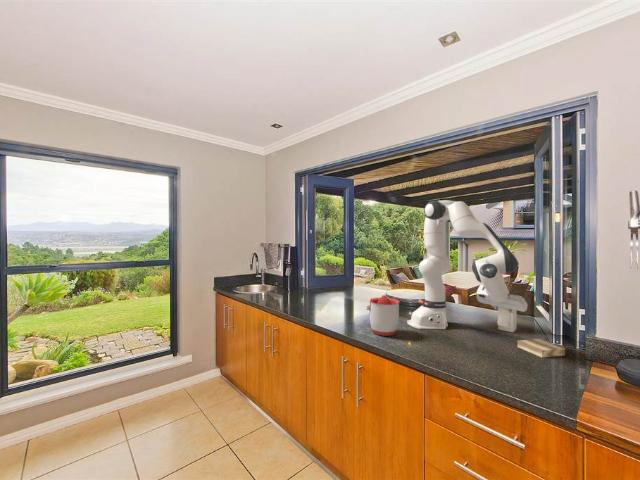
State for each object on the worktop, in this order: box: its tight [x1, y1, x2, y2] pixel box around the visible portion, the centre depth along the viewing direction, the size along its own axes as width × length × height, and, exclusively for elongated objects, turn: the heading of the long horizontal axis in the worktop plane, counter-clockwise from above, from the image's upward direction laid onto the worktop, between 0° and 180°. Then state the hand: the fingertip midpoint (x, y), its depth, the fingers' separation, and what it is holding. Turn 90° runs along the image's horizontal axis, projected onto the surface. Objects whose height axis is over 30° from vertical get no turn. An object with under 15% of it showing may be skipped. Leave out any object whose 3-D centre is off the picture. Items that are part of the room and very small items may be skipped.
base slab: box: [517, 338, 566, 359], centre depth 130 cm, size 12×12×3 cm
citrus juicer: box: [365, 294, 400, 337], centre depth 153 cm, size 16×17×20 cm
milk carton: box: [497, 310, 518, 333], centre depth 159 cm, size 7×7×19 cm
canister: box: [496, 306, 511, 327], centre depth 139 cm, size 6×6×13 cm
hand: (504, 310), depth 139 cm, fingers closed on canister, 5 cm apart
